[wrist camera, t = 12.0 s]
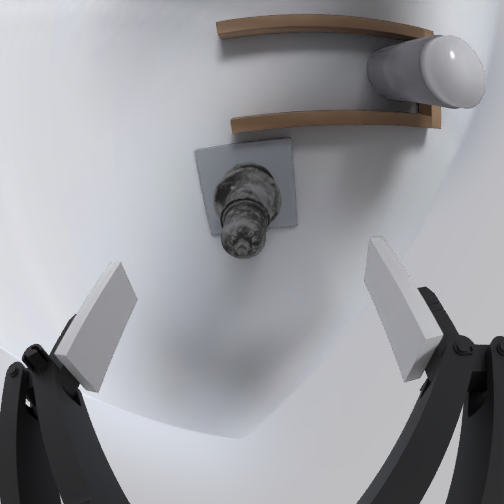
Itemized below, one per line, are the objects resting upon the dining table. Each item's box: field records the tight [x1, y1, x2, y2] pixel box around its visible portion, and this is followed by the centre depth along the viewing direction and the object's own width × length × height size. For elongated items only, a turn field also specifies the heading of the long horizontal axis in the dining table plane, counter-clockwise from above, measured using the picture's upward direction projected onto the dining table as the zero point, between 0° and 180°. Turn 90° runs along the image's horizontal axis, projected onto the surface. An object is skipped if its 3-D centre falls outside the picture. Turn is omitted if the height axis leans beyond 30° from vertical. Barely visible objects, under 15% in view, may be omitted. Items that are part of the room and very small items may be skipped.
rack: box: [216, 14, 441, 133], centre depth 20 cm, size 10×20×2 cm, turn 97°
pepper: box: [367, 35, 486, 109], centre depth 16 cm, size 6×6×11 cm
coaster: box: [194, 138, 298, 235], centre depth 27 cm, size 9×9×1 cm
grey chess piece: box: [212, 162, 281, 259], centre depth 21 cm, size 6×6×12 cm
